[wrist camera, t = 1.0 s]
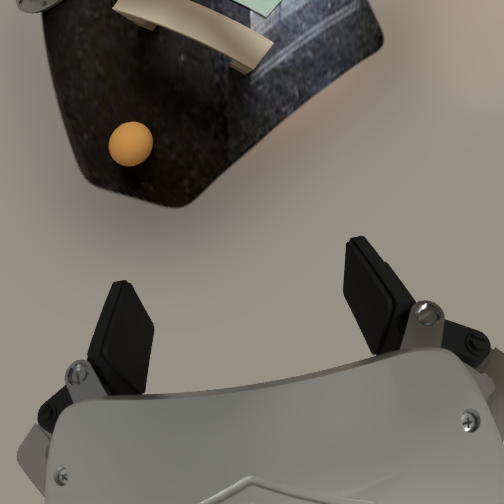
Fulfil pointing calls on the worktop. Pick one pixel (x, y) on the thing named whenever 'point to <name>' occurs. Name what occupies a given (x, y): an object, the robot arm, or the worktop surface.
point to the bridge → (200, 28)
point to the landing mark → (260, 5)
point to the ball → (130, 144)
